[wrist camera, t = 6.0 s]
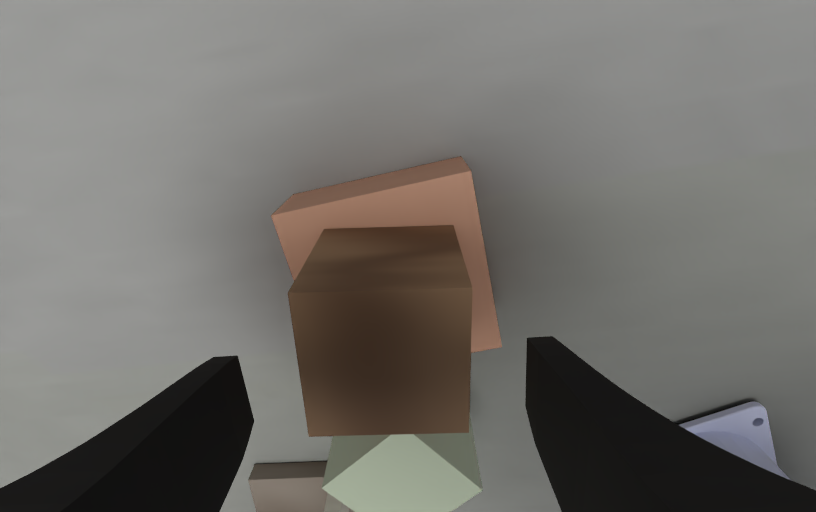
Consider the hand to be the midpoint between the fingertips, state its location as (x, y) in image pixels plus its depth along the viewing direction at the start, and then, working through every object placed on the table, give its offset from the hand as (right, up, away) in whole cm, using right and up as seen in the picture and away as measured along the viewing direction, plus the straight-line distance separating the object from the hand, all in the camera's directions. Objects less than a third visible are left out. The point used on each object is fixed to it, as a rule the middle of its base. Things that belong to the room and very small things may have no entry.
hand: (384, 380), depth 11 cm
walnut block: (0, +2, +5) cm, 6 cm away
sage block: (0, -4, +11) cm, 12 cm away
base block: (0, +3, +9) cm, 9 cm away
